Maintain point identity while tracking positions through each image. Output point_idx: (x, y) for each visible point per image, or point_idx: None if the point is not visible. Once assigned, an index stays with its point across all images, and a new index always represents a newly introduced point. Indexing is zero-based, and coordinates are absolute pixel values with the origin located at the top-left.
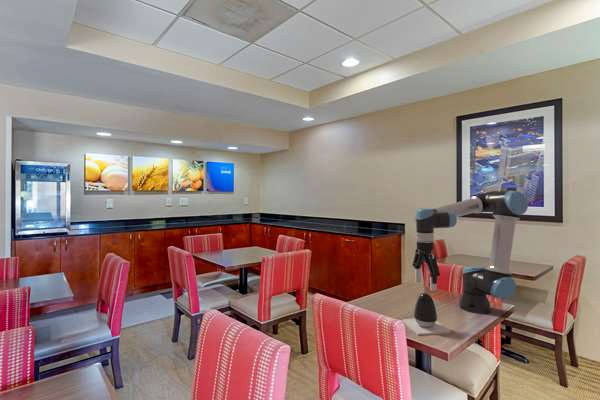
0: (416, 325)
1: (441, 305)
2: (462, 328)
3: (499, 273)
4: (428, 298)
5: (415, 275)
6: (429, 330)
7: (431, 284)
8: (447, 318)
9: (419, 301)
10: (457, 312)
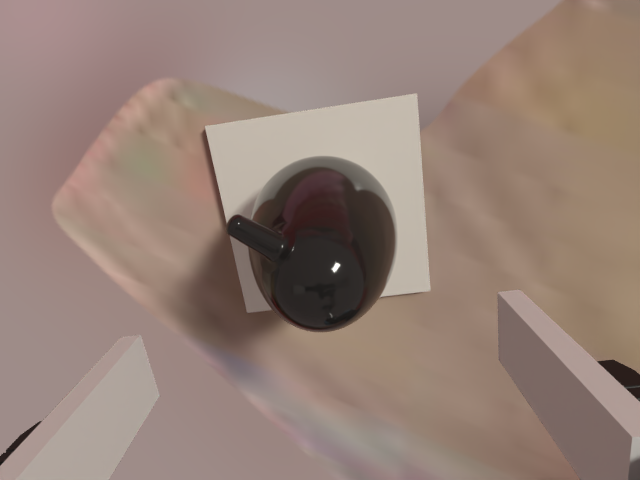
0: None
1: None
2: (302, 380)
3: None
4: (267, 293)
5: (565, 342)
6: (251, 209)
7: (76, 393)
8: (428, 367)
9: (294, 210)
10: (500, 443)
